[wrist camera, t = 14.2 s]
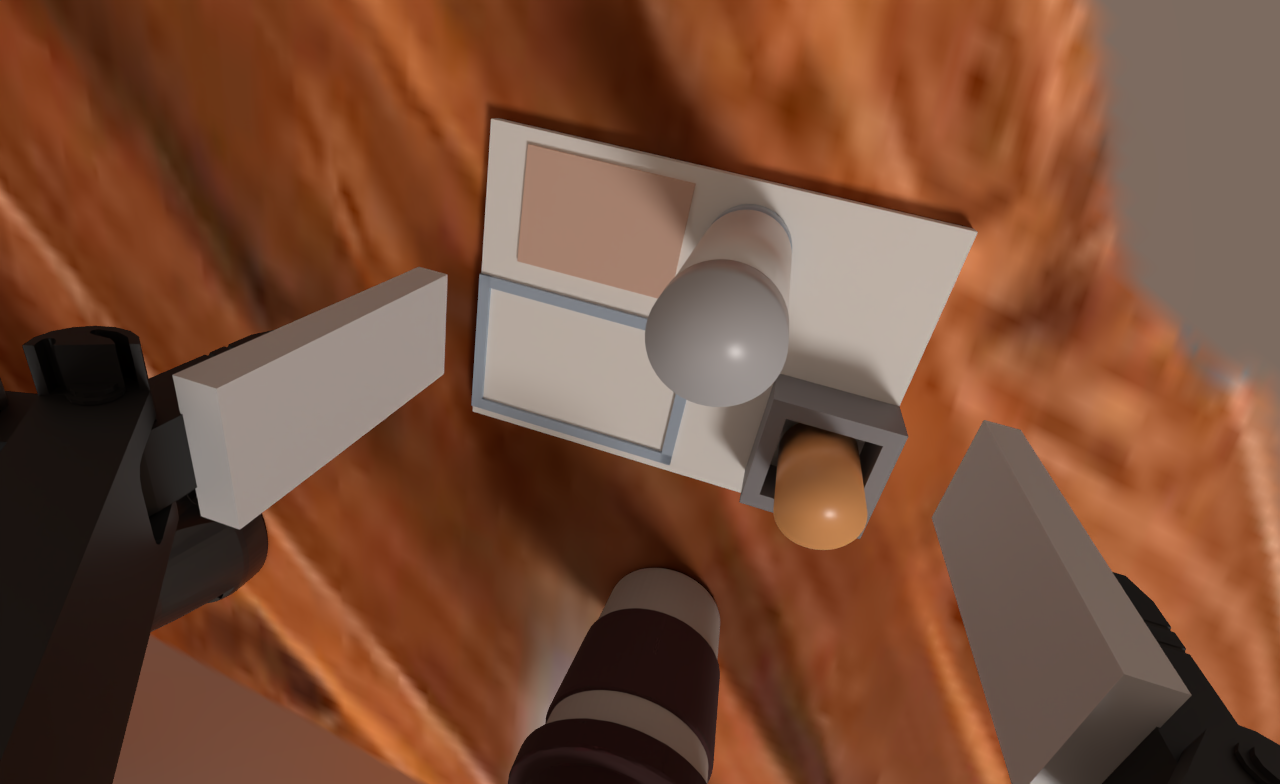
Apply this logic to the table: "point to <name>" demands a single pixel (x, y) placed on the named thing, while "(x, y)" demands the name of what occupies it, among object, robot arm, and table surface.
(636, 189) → the sheet board
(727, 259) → the cylinder
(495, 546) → the table surface
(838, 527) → the button
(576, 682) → the coffee cup
